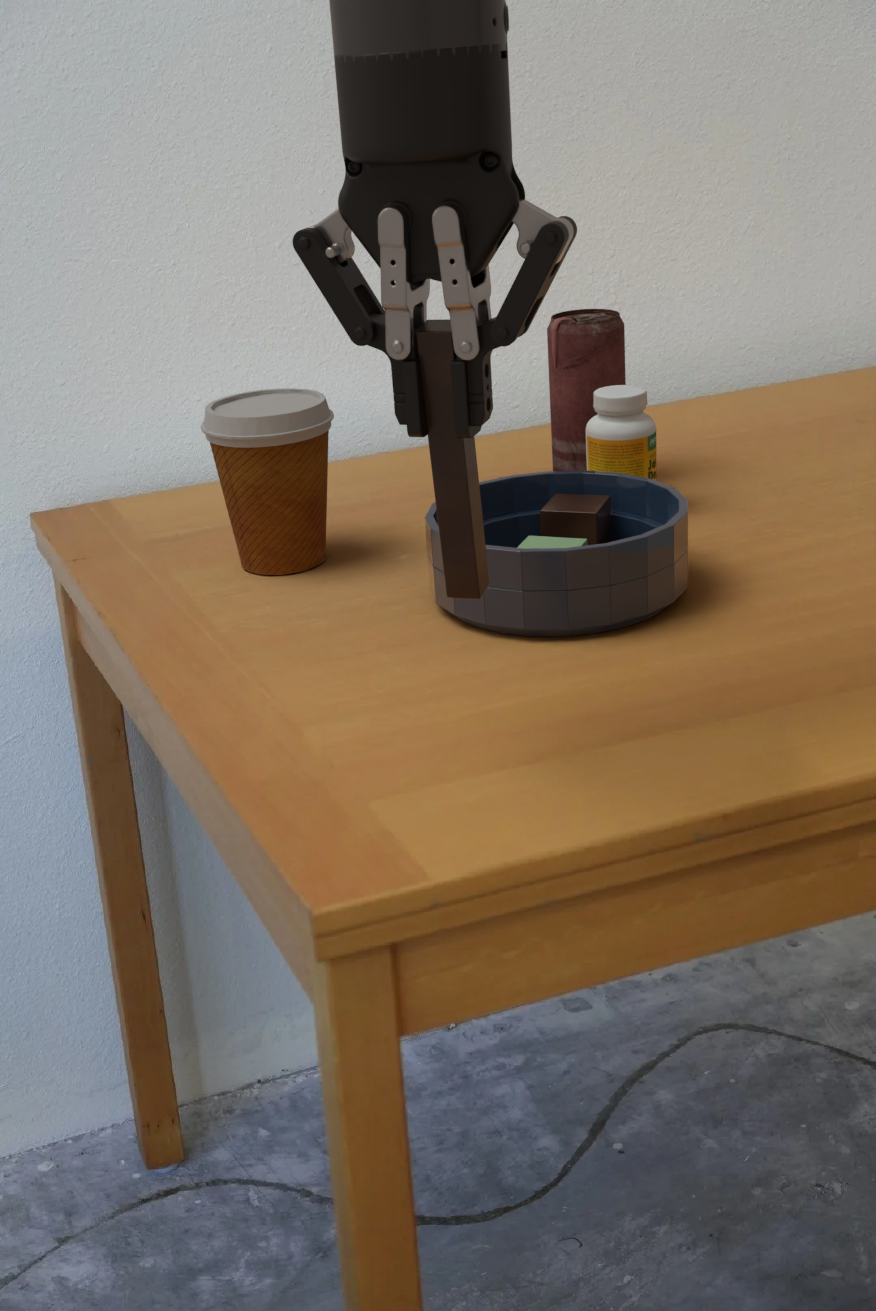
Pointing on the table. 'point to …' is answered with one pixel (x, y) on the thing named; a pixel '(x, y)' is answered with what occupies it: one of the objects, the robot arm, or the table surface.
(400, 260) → the robot arm
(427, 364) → the stick
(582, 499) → the walnut block
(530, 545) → the green block
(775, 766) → the table surface
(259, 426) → the disposable coffee cup
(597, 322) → the can
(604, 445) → the supplement bottle
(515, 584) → the bowl
